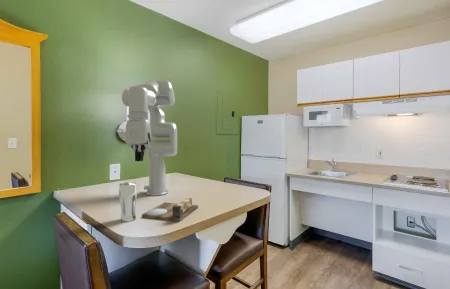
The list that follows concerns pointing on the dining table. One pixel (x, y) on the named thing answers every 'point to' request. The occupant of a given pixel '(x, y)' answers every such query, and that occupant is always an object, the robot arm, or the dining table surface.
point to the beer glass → (128, 200)
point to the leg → (181, 207)
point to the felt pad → (156, 212)
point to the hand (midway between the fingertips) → (139, 160)
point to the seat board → (171, 212)
